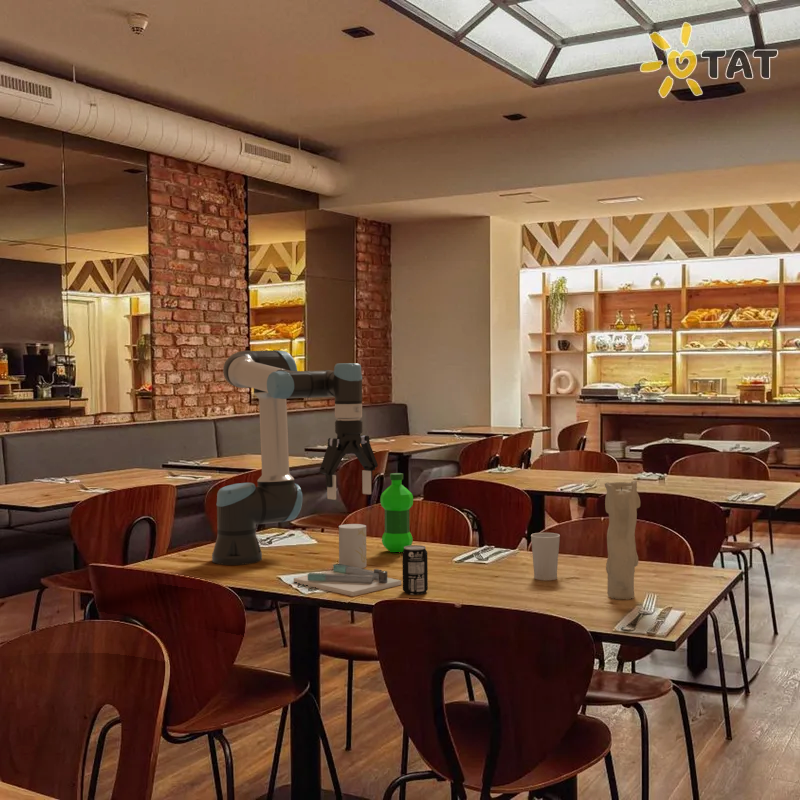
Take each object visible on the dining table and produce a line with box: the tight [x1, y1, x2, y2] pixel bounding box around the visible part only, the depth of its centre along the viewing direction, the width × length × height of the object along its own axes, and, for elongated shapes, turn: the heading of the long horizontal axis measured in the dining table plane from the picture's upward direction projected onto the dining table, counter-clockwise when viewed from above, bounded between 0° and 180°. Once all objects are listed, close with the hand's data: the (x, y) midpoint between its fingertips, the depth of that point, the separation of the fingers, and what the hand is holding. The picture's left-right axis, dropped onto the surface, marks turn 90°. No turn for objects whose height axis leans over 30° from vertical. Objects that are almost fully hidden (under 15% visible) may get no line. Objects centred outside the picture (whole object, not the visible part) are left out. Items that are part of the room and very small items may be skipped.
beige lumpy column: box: [604, 479, 641, 600], centre depth 249 cm, size 9×8×30 cm
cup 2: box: [530, 532, 561, 581], centre depth 274 cm, size 8×8×12 cm
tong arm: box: [307, 572, 374, 583], centre depth 266 cm, size 18×2×2 cm, turn 78°
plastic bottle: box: [379, 472, 414, 553], centre depth 314 cm, size 10×10×25 cm
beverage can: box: [401, 544, 429, 596], centre depth 258 cm, size 7×7×12 cm
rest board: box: [293, 569, 402, 597], centre depth 269 cm, size 24×18×1 cm
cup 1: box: [338, 523, 368, 569], centre depth 292 cm, size 8×8×12 cm
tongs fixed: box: [332, 563, 389, 583], centre depth 272 cm, size 22×4×4 cm, turn 46°
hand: (349, 496), depth 270 cm, fingers open, 13 cm apart
